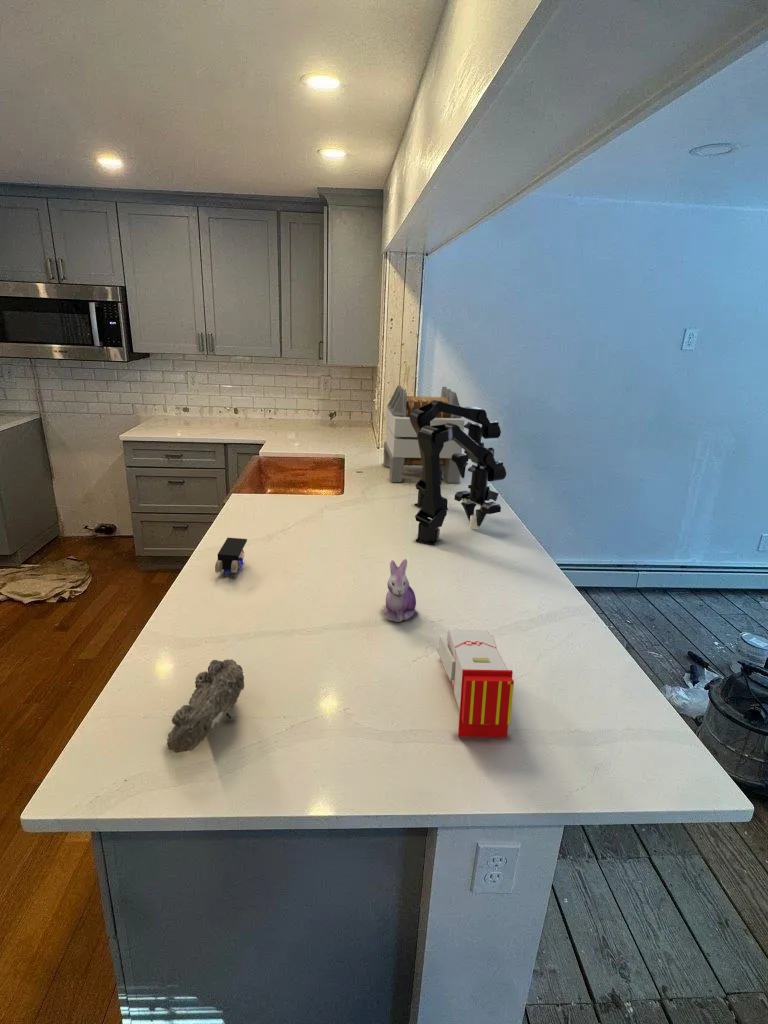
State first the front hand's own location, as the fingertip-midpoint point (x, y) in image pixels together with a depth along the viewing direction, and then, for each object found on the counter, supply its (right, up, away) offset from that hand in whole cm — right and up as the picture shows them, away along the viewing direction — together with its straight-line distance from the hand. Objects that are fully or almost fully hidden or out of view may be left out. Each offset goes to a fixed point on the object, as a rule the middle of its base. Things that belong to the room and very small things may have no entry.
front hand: (474, 524), depth 206 cm
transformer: (-16, +23, +69) cm, 74 cm away
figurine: (-29, -22, -59) cm, 69 cm away
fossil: (-66, -35, -98) cm, 123 cm away
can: (0, -1, 0) cm, 1 cm away
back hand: (+3, +19, +27) cm, 33 cm away
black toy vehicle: (-78, -13, -39) cm, 88 cm away
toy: (-15, -33, -88) cm, 95 cm away
